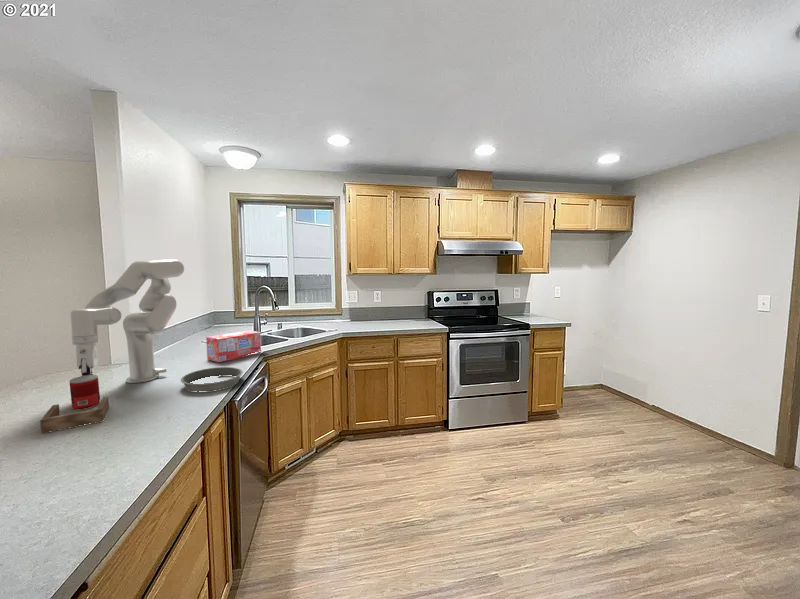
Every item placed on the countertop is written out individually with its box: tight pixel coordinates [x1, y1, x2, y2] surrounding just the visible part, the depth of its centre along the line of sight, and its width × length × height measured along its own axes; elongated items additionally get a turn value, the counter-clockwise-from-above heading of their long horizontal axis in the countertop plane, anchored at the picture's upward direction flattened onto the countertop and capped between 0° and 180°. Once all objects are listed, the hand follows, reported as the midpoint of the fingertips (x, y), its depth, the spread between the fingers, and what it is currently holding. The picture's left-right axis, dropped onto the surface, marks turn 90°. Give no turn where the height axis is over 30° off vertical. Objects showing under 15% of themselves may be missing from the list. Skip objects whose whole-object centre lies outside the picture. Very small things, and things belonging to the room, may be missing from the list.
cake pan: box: [180, 366, 244, 393], centre depth 154 cm, size 25×25×4 cm
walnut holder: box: [39, 395, 110, 434], centre depth 118 cm, size 15×14×4 cm
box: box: [205, 329, 262, 363], centre depth 199 cm, size 27×13×14 cm, turn 147°
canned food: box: [68, 374, 101, 410], centre depth 129 cm, size 8×8×11 cm
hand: (87, 384), depth 137 cm, fingers closed
